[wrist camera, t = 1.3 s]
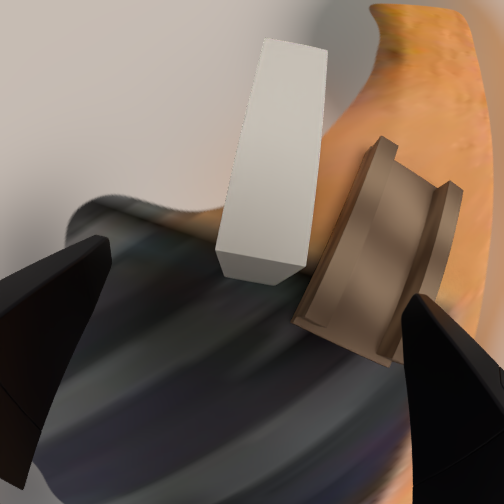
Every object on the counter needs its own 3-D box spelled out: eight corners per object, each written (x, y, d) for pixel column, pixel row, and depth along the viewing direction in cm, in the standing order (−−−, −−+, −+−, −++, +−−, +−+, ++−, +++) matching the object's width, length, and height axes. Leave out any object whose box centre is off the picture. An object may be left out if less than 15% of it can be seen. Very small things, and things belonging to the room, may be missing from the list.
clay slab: (274, 286, 22) (305, 266, 12) (224, 276, 22) (215, 249, 12) (297, 137, 24) (327, 50, 14) (254, 128, 24) (265, 37, 14)
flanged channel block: (382, 365, 21) (405, 373, 17) (290, 322, 21) (300, 324, 18) (440, 199, 24) (464, 185, 20) (365, 152, 24) (383, 130, 20)
